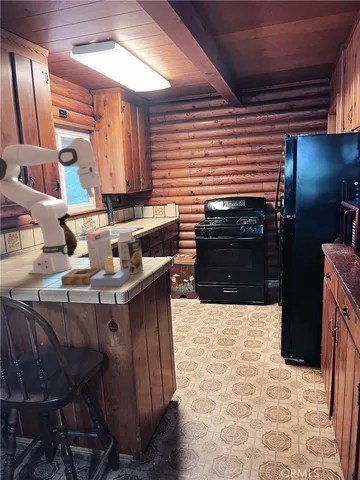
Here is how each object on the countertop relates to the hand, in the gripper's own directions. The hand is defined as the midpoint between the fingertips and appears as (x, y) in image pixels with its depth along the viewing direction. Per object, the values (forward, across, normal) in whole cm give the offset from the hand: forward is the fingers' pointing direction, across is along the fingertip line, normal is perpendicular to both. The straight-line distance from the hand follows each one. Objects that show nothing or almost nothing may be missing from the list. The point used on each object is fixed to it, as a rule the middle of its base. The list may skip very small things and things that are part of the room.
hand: (95, 196), depth 182 cm
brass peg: (+40, +26, +8) cm, 48 cm away
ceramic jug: (+36, -40, -45) cm, 70 cm away
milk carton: (+41, 0, +9) cm, 42 cm away
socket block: (+40, +26, +8) cm, 48 cm away
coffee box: (+41, +9, +14) cm, 44 cm away
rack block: (+38, +21, -8) cm, 44 cm away
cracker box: (+39, +2, -5) cm, 39 cm away
